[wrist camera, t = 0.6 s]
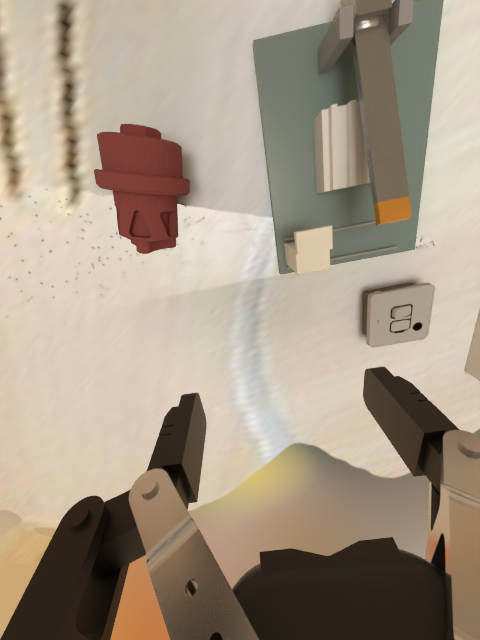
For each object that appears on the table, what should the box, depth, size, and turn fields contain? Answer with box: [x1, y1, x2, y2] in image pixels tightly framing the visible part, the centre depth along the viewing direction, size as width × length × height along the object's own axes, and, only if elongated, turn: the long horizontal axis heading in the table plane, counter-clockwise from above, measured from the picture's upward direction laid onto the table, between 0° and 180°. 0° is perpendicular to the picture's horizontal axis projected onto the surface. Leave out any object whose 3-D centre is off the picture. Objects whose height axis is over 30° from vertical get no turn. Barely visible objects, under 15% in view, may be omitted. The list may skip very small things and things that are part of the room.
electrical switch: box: [363, 283, 435, 347], centre depth 38 cm, size 9×5×9 cm
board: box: [253, 0, 443, 274], centre depth 28 cm, size 26×20×7 cm
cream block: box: [284, 225, 333, 275], centre depth 31 cm, size 5×4×8 cm
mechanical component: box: [94, 124, 189, 254], centre depth 28 cm, size 12×10×10 cm
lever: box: [341, 0, 412, 226], centre depth 23 cm, size 22×3×2 cm, turn 10°
